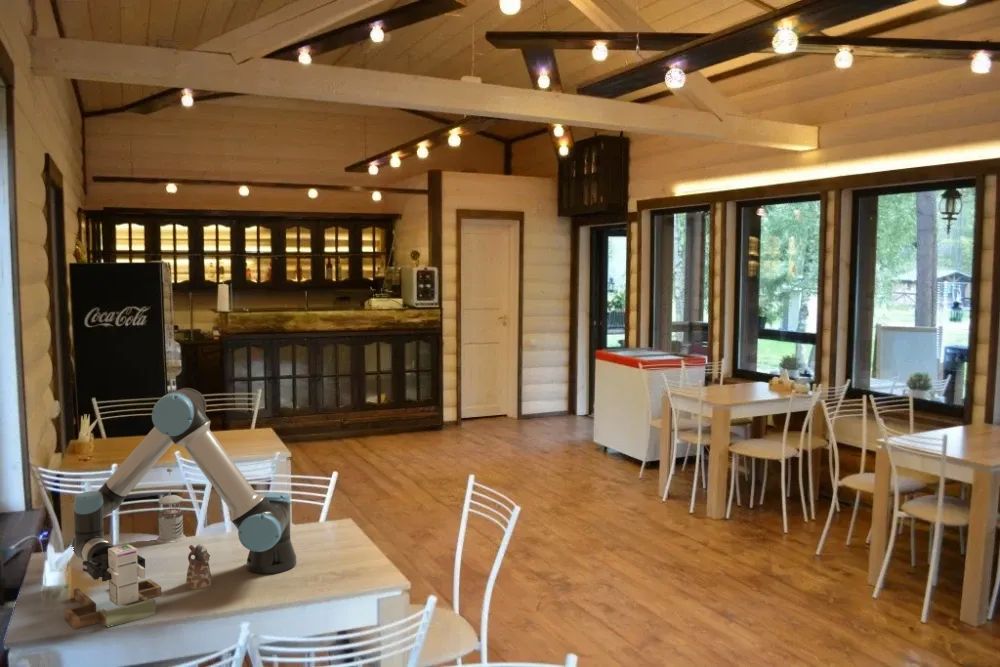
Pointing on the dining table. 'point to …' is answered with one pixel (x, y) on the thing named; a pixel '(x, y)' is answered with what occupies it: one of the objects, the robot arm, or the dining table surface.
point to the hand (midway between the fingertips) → (130, 576)
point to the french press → (170, 519)
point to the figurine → (198, 568)
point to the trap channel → (121, 615)
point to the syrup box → (123, 574)
